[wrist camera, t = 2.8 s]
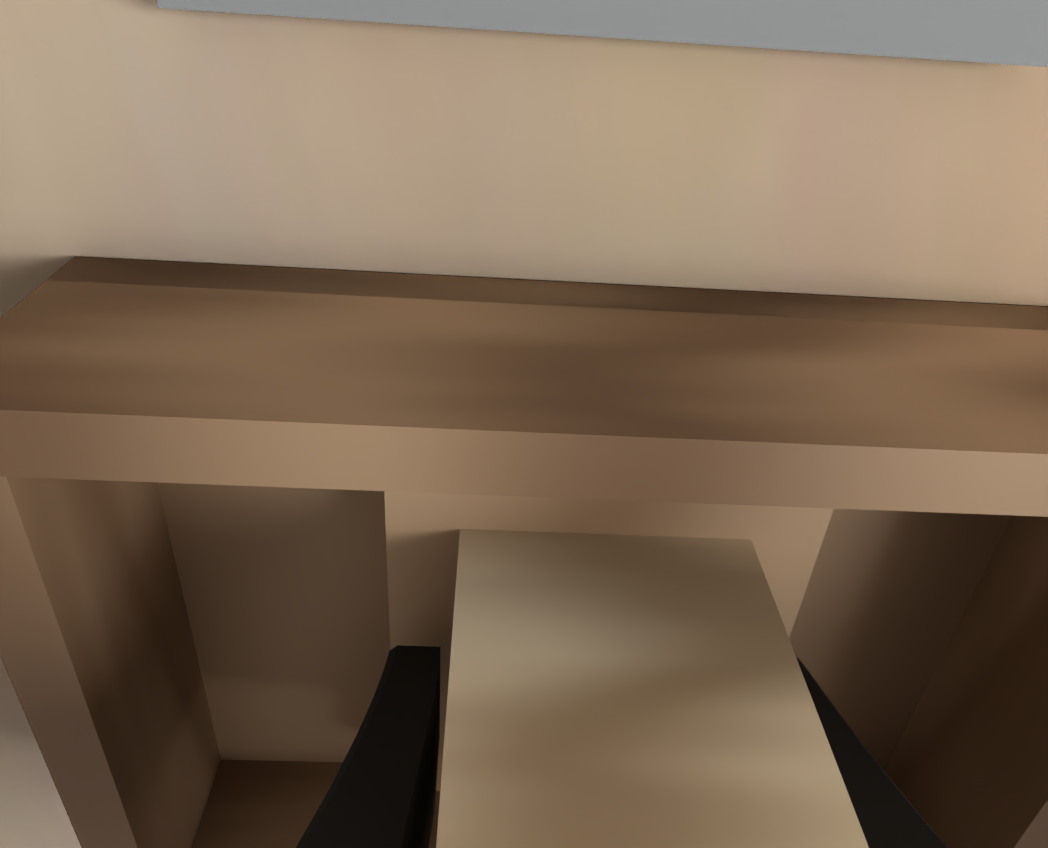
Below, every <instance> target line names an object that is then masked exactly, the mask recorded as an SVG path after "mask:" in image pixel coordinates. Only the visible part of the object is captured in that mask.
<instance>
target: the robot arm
mask: <svg viewBox="0 0 1048 848" xmlns="http://www.w3.org/2000/svg"><path fill="white" fill-rule="evenodd" d="M796 658H797V661H798V663H799V666H800V669H801V671H802V674H803V677H804V679H805V682H806V684H807V687H808V690H809V692H810V695H811V697H812V700H813V703H814V705H815V708H816V711H817V713H818V716H819V718H820V721H821V724H822V726H823V729H824V731H825V734H826V737H827V739H828V742H829V745H830V747H831V750H832V752H833V755H834V758H835V760H836V763H837V765H838V768H839V771H840V773H841V776H842V779H843V781H844V784H845V786H846V789H847V792H848V794H849V797H850V800H851V802H852V805H853V807H854V810H855V813H856V815H857V818H858V820H859V823H860V826H861V828H862V831H863V834H864V836H865V839H866V841H867V844H868V847H869V848H948V847H947V845H946V844H945V843H944V842H943V841H942V840H941V839H940V837H939V836H938V835H937V834H936V833H935V832H934V831H933V829H932V828H931V827H930V826H929V825H928V823H927V822H926V821H925V820H924V819H923V818H922V816H921V815H920V814H919V813H918V812H917V810H916V809H915V808H914V807H913V806H912V804H911V803H910V802H909V801H908V799H907V798H906V797H905V796H904V794H903V793H902V792H901V791H900V790H899V788H898V787H897V786H896V785H895V783H894V782H893V781H892V780H891V778H890V777H889V776H888V775H887V773H886V772H885V771H884V770H883V769H882V767H881V766H880V765H879V764H878V762H877V761H876V760H875V758H874V757H873V756H872V755H871V753H870V752H869V751H868V749H867V748H866V747H865V746H864V744H863V743H862V742H861V740H860V739H859V738H858V736H857V735H856V734H855V733H854V731H853V730H852V729H851V727H850V726H849V725H848V723H847V722H846V721H845V719H844V718H843V717H842V715H841V714H840V713H839V711H838V710H837V709H836V707H835V706H834V705H833V703H832V702H831V701H830V699H829V698H828V697H827V695H826V694H825V693H824V691H823V690H822V688H821V687H820V686H819V684H818V683H817V682H816V680H815V679H814V678H813V676H812V675H811V674H810V672H809V671H808V670H807V668H806V667H805V666H804V664H803V663H802V662H801V661H800V659H799V658H798V657H796ZM439 739H440V647H436V646H402V645H397V646H396V647H394V648H393V649H391V650H390V651H389V654H388V657H387V661H386V664H385V667H384V670H383V673H382V676H381V679H380V681H379V684H378V687H377V689H376V692H375V694H374V697H373V699H372V702H371V704H370V706H369V709H368V711H367V713H366V715H365V718H364V720H363V722H362V724H361V726H360V729H359V731H358V733H357V735H356V737H355V739H354V741H353V743H352V745H351V747H350V749H349V751H348V753H347V755H346V757H345V759H344V761H343V763H342V765H341V767H340V769H339V771H338V773H337V775H336V777H335V779H334V781H333V783H332V785H331V787H330V788H329V790H328V792H327V794H326V796H325V798H324V799H323V801H322V803H321V805H320V806H319V808H318V810H317V812H316V813H315V815H314V817H313V819H312V820H311V822H310V824H309V826H308V827H307V829H306V831H305V832H304V834H303V836H302V838H301V839H300V841H299V843H298V845H297V846H296V848H429V843H430V837H431V830H432V824H433V818H434V811H435V797H436V783H437V769H438V754H439Z"/></svg>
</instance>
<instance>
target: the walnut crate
mask: <svg viewBox="0 0 1048 848" xmlns="http://www.w3.org/2000/svg"><path fill="white" fill-rule="evenodd" d="M460 529H475V530H503V531H530V532H558V533H585V534H613V535H640V536H668V537H695V538H723V539H750V540H752V543H753V546H754V548H755V551H756V554H757V556H758V559H759V561H760V564H761V567H762V569H763V572H764V574H765V577H766V580H767V582H768V585H769V588H770V590H771V593H772V595H773V598H774V601H775V603H776V606H777V608H778V611H779V614H780V616H781V619H782V622H783V624H784V627H785V629H786V632H787V635H788V637H789V640H790V642H791V645H792V648H793V650H794V653H795V656H796V657H798V658H799V659H800V661H801V662H802V663H803V664H804V666H805V667H806V668H807V670H808V671H809V672H810V674H811V675H812V676H813V678H814V679H815V680H816V682H817V683H818V684H819V686H820V687H821V688H822V690H823V691H824V693H825V694H826V695H827V697H828V698H829V699H830V701H831V702H832V703H833V705H834V706H835V707H836V709H837V710H838V711H839V713H840V714H841V715H842V717H843V718H844V719H845V721H846V722H847V723H848V725H849V726H850V727H851V729H852V730H853V731H854V733H855V734H856V735H857V736H858V738H859V739H860V740H861V742H862V743H863V744H864V746H865V747H866V748H867V749H868V751H869V752H870V753H871V755H872V756H873V757H874V758H875V760H876V761H877V762H878V764H879V765H880V766H881V767H882V769H883V770H884V771H885V772H886V773H887V775H888V776H889V777H890V778H891V780H892V781H893V782H894V783H895V785H896V786H897V787H898V788H899V790H900V791H901V792H902V793H903V794H904V796H905V797H906V798H907V799H908V801H909V802H910V803H911V804H912V806H913V807H914V808H915V809H916V810H917V812H918V813H919V814H920V815H921V816H922V818H923V819H924V820H925V821H926V822H927V823H928V825H929V826H930V827H931V828H932V829H933V831H934V832H935V833H936V834H937V835H938V836H939V837H940V839H941V840H942V841H943V842H944V843H945V844H946V845H947V847H948V848H1048V307H1041V306H1022V305H1003V304H983V303H964V302H945V301H925V300H906V299H886V298H867V297H848V296H828V295H809V294H790V293H770V292H751V291H731V290H712V289H693V288H673V287H654V286H635V285H615V284H596V283H576V282H557V281H538V280H518V279H499V278H480V277H460V276H441V275H421V274H402V273H383V272H363V271H344V270H325V269H305V268H286V267H266V266H247V265H228V264H208V263H189V262H170V261H150V260H131V259H111V258H92V257H74V258H73V259H72V260H70V261H69V262H68V263H67V264H65V265H64V266H63V267H62V268H61V269H59V270H58V271H57V272H56V273H55V274H53V275H52V276H51V277H50V278H49V279H47V280H46V281H45V282H44V283H42V284H41V285H40V286H39V287H38V288H36V289H35V290H34V291H33V292H32V293H30V294H29V295H28V296H27V297H25V298H24V299H23V300H22V301H21V302H19V303H18V304H17V305H16V306H15V307H13V308H12V309H11V310H10V311H8V312H7V313H6V314H5V315H4V316H2V317H1V318H0V656H1V658H2V660H3V663H4V665H5V667H6V670H7V672H8V675H9V677H10V679H11V682H12V684H13V686H14V689H15V691H16V693H17V696H18V698H19V701H20V703H21V705H22V708H23V710H24V712H25V715H26V717H27V719H28V722H29V724H30V727H31V729H32V731H33V734H34V736H35V738H36V741H37V743H38V745H39V748H40V750H41V753H42V755H43V757H44V760H45V762H46V764H47V767H48V769H49V772H50V774H51V776H52V779H53V781H54V783H55V786H56V788H57V790H58V793H59V795H60V798H61V800H62V802H63V805H64V807H65V809H66V812H67V814H68V816H69V819H70V821H71V824H72V826H73V828H74V831H75V833H76V835H77V838H78V840H79V842H80V845H81V847H82V848H296V846H297V845H298V843H299V841H300V839H301V838H302V836H303V834H304V832H305V831H306V829H307V827H308V826H309V824H310V822H311V820H312V819H313V817H314V815H315V813H316V812H317V810H318V808H319V806H320V805H321V803H322V801H323V799H324V798H325V796H326V794H327V792H328V790H329V788H330V787H331V785H332V783H333V781H334V779H335V777H336V775H337V773H338V771H339V769H340V767H341V765H342V763H343V761H344V759H345V757H346V755H347V753H348V751H349V749H350V747H351V745H352V743H353V741H354V739H355V737H356V735H357V733H358V731H359V729H360V726H361V724H362V722H363V720H364V718H365V715H366V713H367V711H368V709H369V706H370V704H371V702H372V699H373V697H374V694H375V692H376V689H377V687H378V684H379V681H380V679H381V676H382V673H383V670H384V667H385V664H386V661H387V657H388V654H389V651H390V650H391V649H393V648H394V647H396V646H397V645H402V646H436V647H440V739H439V754H438V769H437V783H436V797H435V811H434V818H433V824H432V830H431V837H430V843H429V848H436V843H437V829H438V816H439V803H440V789H441V776H442V762H443V749H444V736H445V722H446V709H447V696H448V682H449V669H450V655H451V642H452V629H453V615H454V602H455V589H456V575H457V562H458V549H459V535H460Z"/></svg>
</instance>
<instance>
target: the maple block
mask: <svg viewBox="0 0 1048 848" xmlns="http://www.w3.org/2000/svg"><path fill="white" fill-rule="evenodd" d="M436 848H869V847H868V844H867V841H866V839H865V836H864V834H863V831H862V828H861V826H860V823H859V820H858V818H857V815H856V813H855V810H854V807H853V805H852V802H851V800H850V797H849V794H848V792H847V789H846V786H845V784H844V781H843V779H842V776H841V773H840V771H839V768H838V765H837V763H836V760H835V758H834V755H833V752H832V750H831V747H830V745H829V742H828V739H827V737H826V734H825V731H824V729H823V726H822V724H821V721H820V718H819V716H818V713H817V711H816V708H815V705H814V703H813V700H812V697H811V695H810V692H809V690H808V687H807V684H806V682H805V679H804V677H803V674H802V671H801V669H800V666H799V663H798V661H797V658H796V656H795V653H794V650H793V648H792V645H791V642H790V640H789V637H788V635H787V632H786V629H785V627H784V624H783V622H782V619H781V616H780V614H779V611H778V608H777V606H776V603H775V601H774V598H773V595H772V593H771V590H770V588H769V585H768V582H767V580H766V577H765V574H764V572H763V569H762V567H761V564H760V561H759V559H758V556H757V554H756V551H755V548H754V546H753V543H752V540H750V539H723V538H695V537H668V536H640V535H613V534H585V533H558V532H530V531H503V530H475V529H460V535H459V549H458V562H457V575H456V589H455V602H454V615H453V629H452V642H451V655H450V669H449V682H448V696H447V709H446V722H445V736H444V749H443V762H442V776H441V789H440V803H439V816H438V829H437V843H436Z"/></svg>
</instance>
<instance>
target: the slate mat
mask: <svg viewBox="0 0 1048 848" xmlns="http://www.w3.org/2000/svg"><path fill="white" fill-rule="evenodd" d="M157 5H158V8H168V9H183V10H198V11H213V12H228V13H244V14H259V15H274V16H289V17H304V18H319V19H334V20H349V21H364V22H379V23H394V24H409V25H424V26H439V27H454V28H469V29H484V30H499V31H514V32H529V33H544V34H559V35H574V36H589V37H604V38H619V39H634V40H649V41H664V42H679V43H694V44H709V45H724V46H739V47H754V48H769V49H784V50H799V51H814V52H829V53H844V54H859V55H874V56H889V57H904V58H919V59H934V60H949V61H964V62H979V63H994V64H1009V65H1024V66H1039V67H1047V65H1048V0H157Z"/></svg>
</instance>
